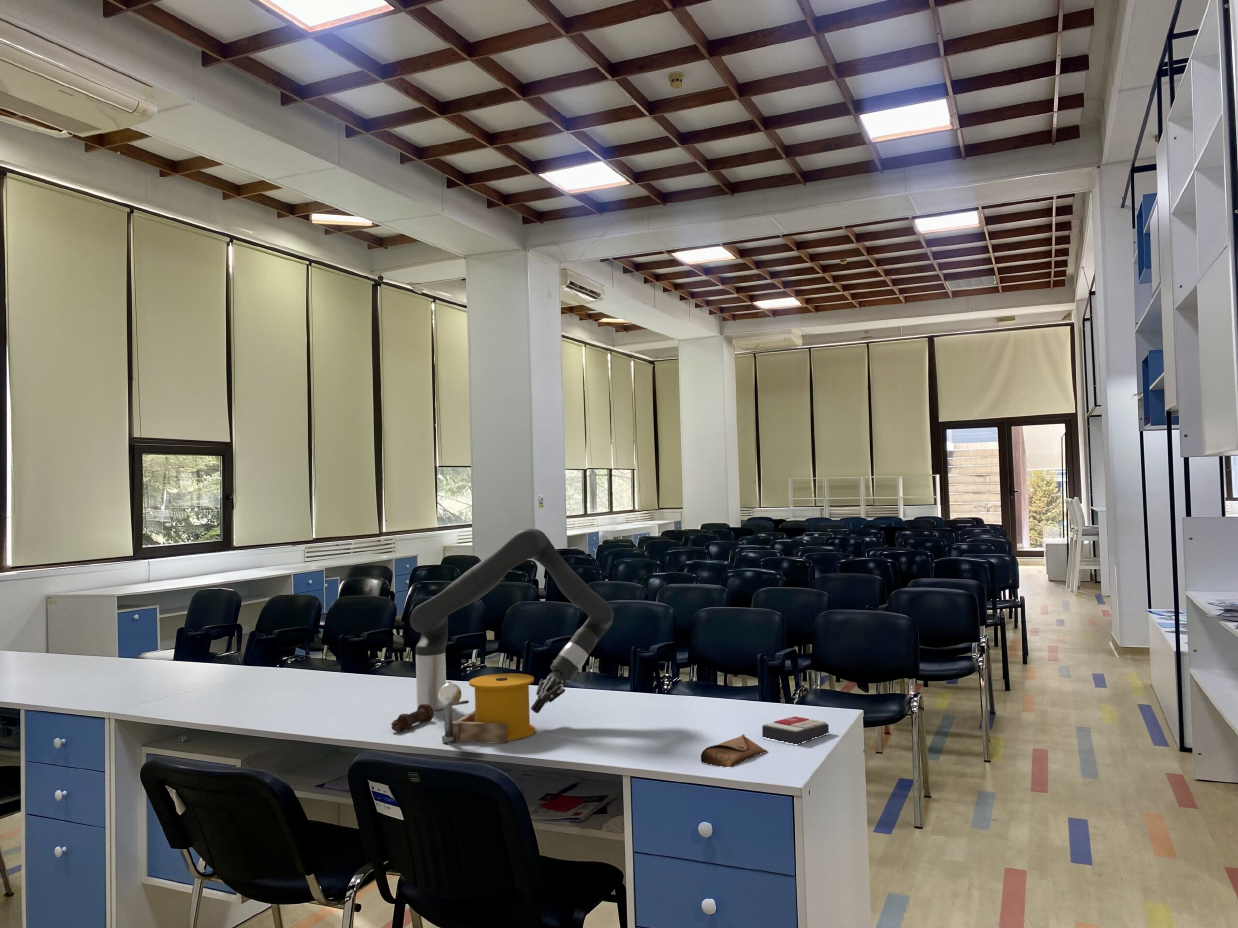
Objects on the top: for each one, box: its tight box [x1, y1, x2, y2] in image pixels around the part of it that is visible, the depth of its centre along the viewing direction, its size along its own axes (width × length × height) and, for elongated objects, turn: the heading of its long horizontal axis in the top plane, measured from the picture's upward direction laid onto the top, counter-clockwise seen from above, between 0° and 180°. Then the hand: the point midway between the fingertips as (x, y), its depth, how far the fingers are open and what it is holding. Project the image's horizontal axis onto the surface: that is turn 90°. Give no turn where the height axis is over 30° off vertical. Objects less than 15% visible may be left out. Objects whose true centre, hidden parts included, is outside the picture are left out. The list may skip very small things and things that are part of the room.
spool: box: [468, 672, 536, 741], centre depth 249 cm, size 18×18×15 cm
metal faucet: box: [438, 681, 470, 744], centre depth 242 cm, size 9×4×16 cm, turn 120°
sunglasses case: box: [700, 734, 768, 768], centre depth 219 cm, size 18×7×7 cm
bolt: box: [390, 704, 435, 732], centre depth 260 cm, size 6×5×15 cm
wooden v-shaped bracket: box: [452, 710, 508, 744], centre depth 245 cm, size 12×22×5 cm, turn 30°
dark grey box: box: [761, 716, 830, 744], centre depth 236 cm, size 11×4×15 cm
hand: (534, 711), depth 254 cm, fingers closed
